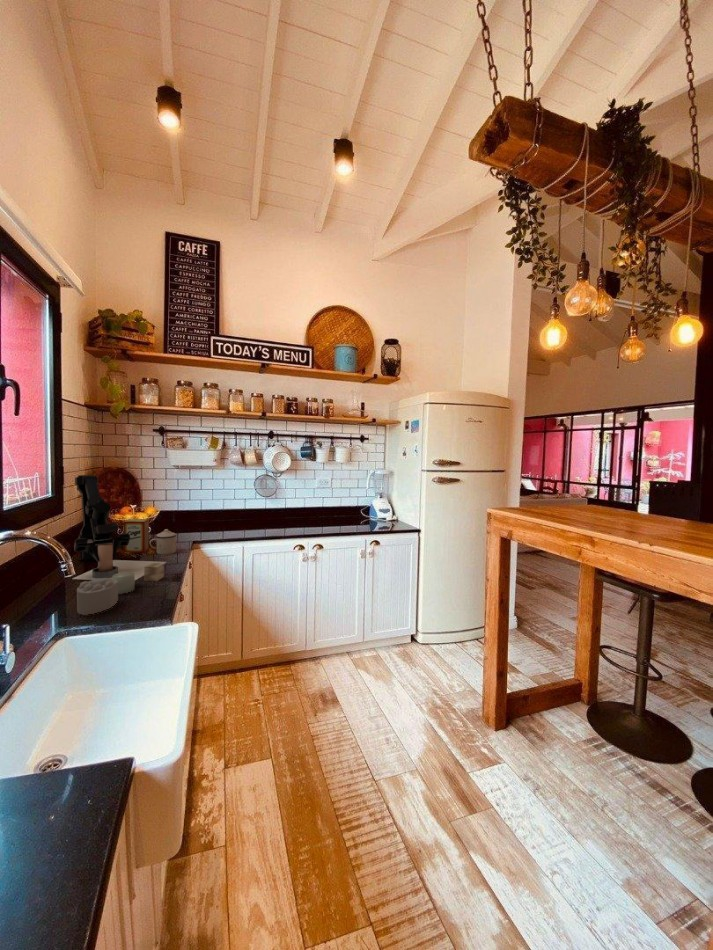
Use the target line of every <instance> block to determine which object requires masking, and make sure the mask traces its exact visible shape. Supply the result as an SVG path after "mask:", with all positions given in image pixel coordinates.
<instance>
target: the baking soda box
mask: <svg viewBox="0 0 713 950" xmlns="http://www.w3.org/2000/svg"><path fill="white" fill-rule="evenodd" d="M149 520H150V519H149V518H130V519H126V520H124V521H123V524H122V525H123V526H122V527H123V534H124V533H128V534H129V535H130V540H129V543H128V545H127V546H123V553H124V552H129V553H128V554H139V553H140V554H141V553H143V554H144V553H147V552H148V550H149V549H150V544H149V543H150V537H149V536H150V531H149V529H150V523H149V522H150V521H149Z"/></svg>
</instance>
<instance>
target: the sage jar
mask: <svg viewBox="0 0 713 950" xmlns="http://www.w3.org/2000/svg"><path fill="white" fill-rule="evenodd" d="M112 578H113V580H117V581H118V595H124V594H123V593H126V594H129V593H128V592H130V593H132V592H134V591H135V590H136V589H135V587H136V585H135V584H136V583H135V582H136V580H135V576H134V573H133V572H122V573H117V574H114V575H113V576H112ZM134 589H135V590H134ZM133 590H134V591H133ZM131 591H132V592H131Z"/></svg>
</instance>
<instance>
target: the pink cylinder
mask: <svg viewBox="0 0 713 950" xmlns="http://www.w3.org/2000/svg"><path fill="white" fill-rule="evenodd" d="M98 557H99V562H97V567H98V572H106V571H111V570H113V544H112V543H110V544H100V545H98Z"/></svg>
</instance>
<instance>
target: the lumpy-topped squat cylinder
mask: <svg viewBox="0 0 713 950" xmlns="http://www.w3.org/2000/svg"><path fill="white" fill-rule="evenodd" d="M118 597H119V594H118V581H117V580H112V579H110V578H95V579H93V580H85V581H84V580H83V581H82V583H79V586H78V587H77V588H76V611H77V614H78V615H81V614H82V616H89V615H88V614H93V615H95V614H94V613H97V612H101V611H103V610H106V609H109V608H111V607H112V606H114V605H115V604H116V603H118V602H119V598H118ZM117 601H118V602H117ZM116 605H117V604H116ZM116 605H115V606H116ZM115 606H114V607H115ZM112 608H113V607H112ZM112 608H111V609H112ZM109 610H110V609H109ZM106 611H107V610H106ZM101 613H102V612H101ZM97 614H98V613H97Z"/></svg>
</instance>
